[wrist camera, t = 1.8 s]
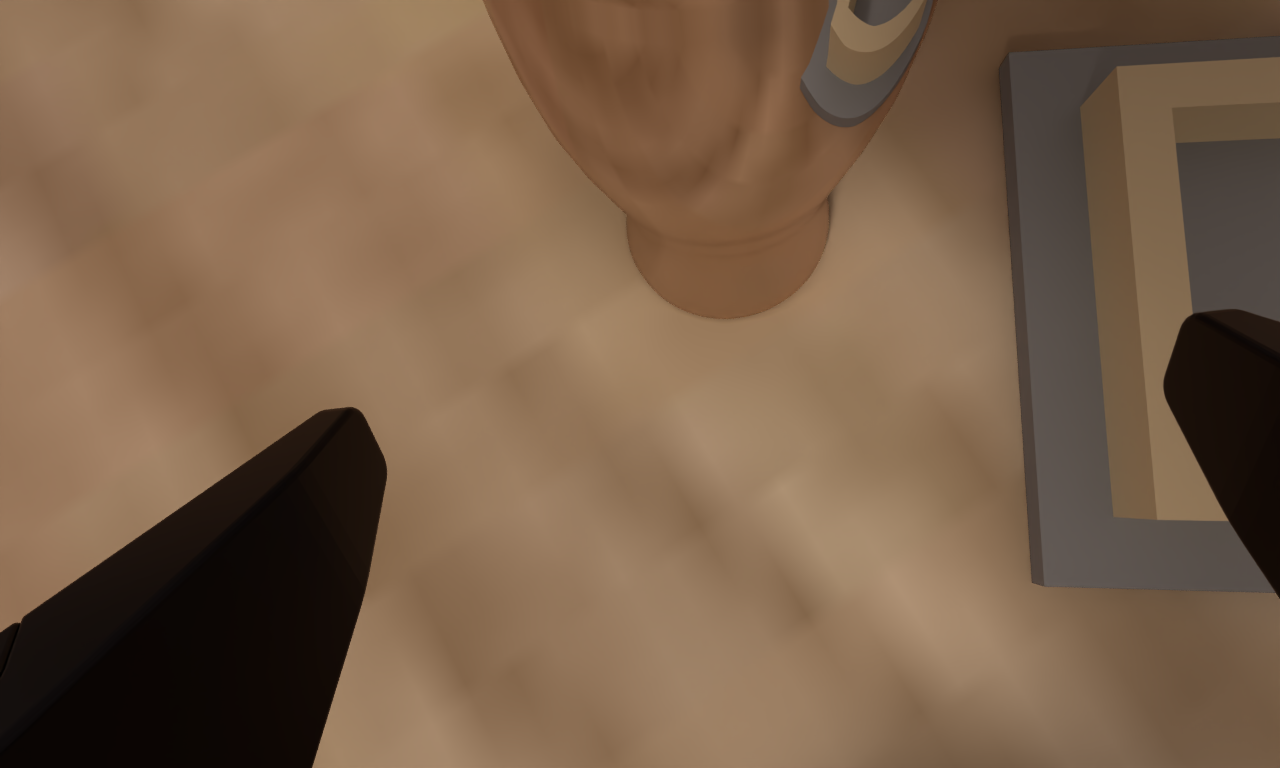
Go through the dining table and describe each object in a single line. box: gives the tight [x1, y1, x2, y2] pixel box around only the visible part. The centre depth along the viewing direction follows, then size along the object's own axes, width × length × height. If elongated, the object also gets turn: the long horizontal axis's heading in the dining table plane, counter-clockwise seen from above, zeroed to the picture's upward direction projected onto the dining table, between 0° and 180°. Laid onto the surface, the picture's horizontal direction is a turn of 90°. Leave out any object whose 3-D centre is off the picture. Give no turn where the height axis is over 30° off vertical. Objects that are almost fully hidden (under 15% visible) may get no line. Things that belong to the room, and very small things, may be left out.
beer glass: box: [483, 0, 938, 319], centre depth 15 cm, size 7×7×15 cm
